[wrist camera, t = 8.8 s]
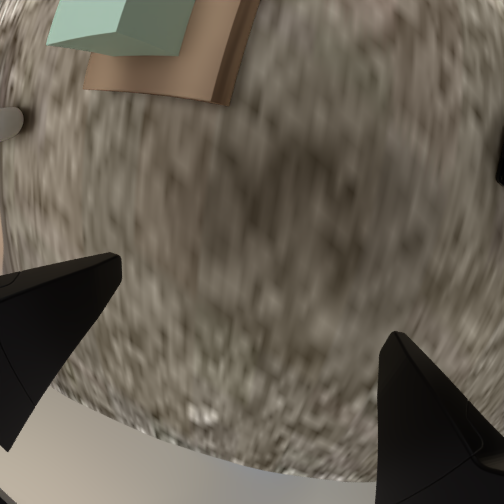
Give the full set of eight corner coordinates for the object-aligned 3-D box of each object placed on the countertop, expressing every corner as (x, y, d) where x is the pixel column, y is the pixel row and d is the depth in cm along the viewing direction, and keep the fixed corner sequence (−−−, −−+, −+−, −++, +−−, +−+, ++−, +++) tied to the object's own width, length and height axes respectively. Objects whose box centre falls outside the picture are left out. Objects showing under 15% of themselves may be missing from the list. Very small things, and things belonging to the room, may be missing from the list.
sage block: (199, -13, 11) (151, -57, 6) (178, 56, 13) (115, 31, 8) (132, -7, 11) (74, -34, 6) (113, 56, 14) (45, 45, 8)
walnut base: (266, -13, 13) (255, -40, 10) (230, 106, 18) (210, 101, 14) (147, -13, 14) (120, -30, 10) (115, 91, 18) (82, 89, 15)
